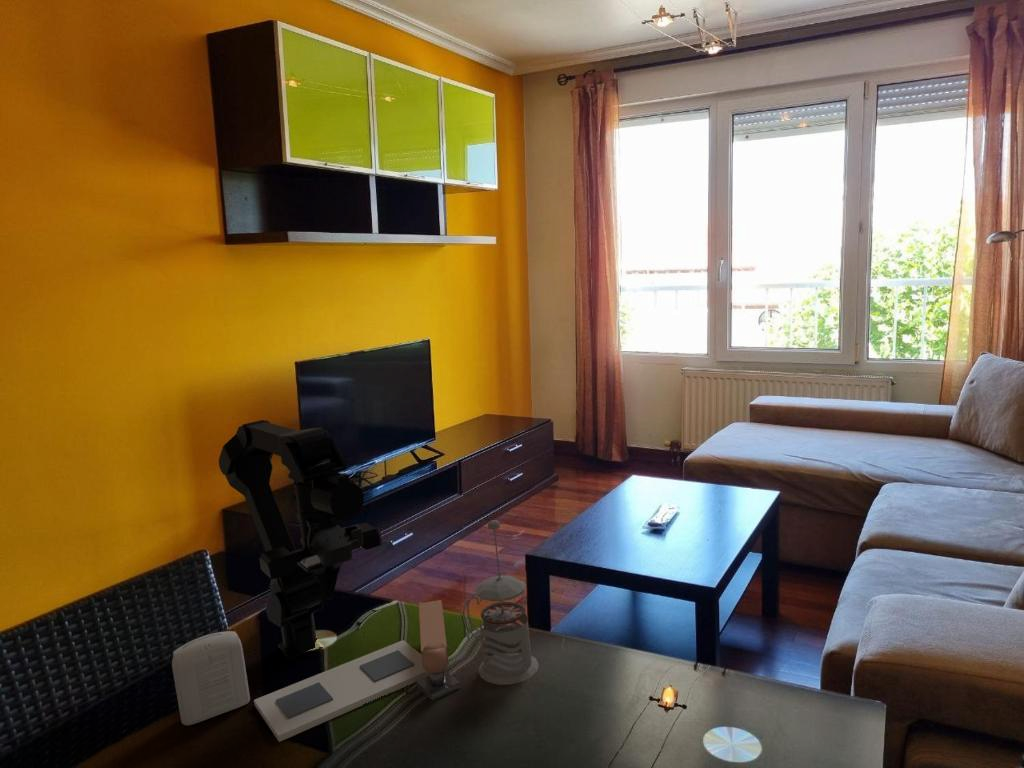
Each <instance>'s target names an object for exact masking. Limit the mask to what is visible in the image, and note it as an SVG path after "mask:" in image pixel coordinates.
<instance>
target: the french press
mask: <svg viewBox="0 0 1024 768" xmlns="http://www.w3.org/2000/svg"><path fill="white" fill-rule="evenodd" d="M500 524H501V523H500V521H498V520H497V519H492V520H489V522H488V523H487V529H488V530H493V535H494V544H495V545H494V546H495V554H496V555H495V556H496V563H497V571H498V572H497V573H498V575H496V576H492V577H488V578H486V579H485V580H483V581H482V582H481V583H479V584H477V586H476V588H475V590H474V591H475V593H474V594H472V595H471V596H470V597H469V598H468V600H467V601H466V602H465V603H464V606H463V608H462V617H463V618H462V619H463V623H464V626H465V628H466V630H467V631H468V632H469V634H470V635H472V636H473V637H475V638H476V639H478V640H479V641H480V644H481V652H482V658H483V661H482V662H481V664H480V666H479V668H478V674H479V676H480V678H481V679H483V680H484V681H485V682H487V683H491V684H494V685H500V686H501V685H513V684H517V683H522V682H524V681H526V680H529V679H530V678H532V677H533V676H534V675H535V674H536V673H537V672H538V670H539V665H540V664H539V661H538V660H537V658H536V657H535V656H533V655H532V651H531V650H532V649H531V639H530V628H529V621H528V619H529V618H528V616H527V614H526V613H525V612H526V609H525V606H523V604H520V603H519V602H515V601H513V602H512V601H510V600H514V599H515V598H518V597H520V596H521V595H523V594H524V592H525V590H526V587H527V584H526V583H525V582H524V581H523V580H522V579H519V578H516V577H514V576H512V575H505V574H504V575H500V574H501V573H500V564H499V554H498V545H497V535H496V530H498V529H500V528H501V525H500ZM479 598H480V600H479ZM473 599H475V600H476V603H477V605H480V604H481V603H482V601H483V600H484V601H490V602H495V603H492V604H489V605H487V606H486V607H484V608H483V609H482V610H481V612H480V617H481V620H480V621H479V629H478V628H477V627H476V626H475V625H474V623H473V622H472V620H471V619H472V618H471V617H470V611H469V607H470V602H471V601H472V600H473ZM465 610H466V611H467V612H466V613H467V618H468V620H469V623H470V624H471V627H472V628H474V630H476V631H477V632H479V634H480V637H479V636H477V635H475V634H474V633H473V632H472V631H471V630H470V628H469V627H468V625H467V621H466V618H465V617H466V616H465ZM517 621H519V622H521V623H522V624H523V625H522V624H520V623H519V622H517ZM482 622H483V625H482ZM507 624H512V625H513V624H514V625H515V626H510V625H507ZM500 625H505V626H503V627H500V628H499V629H496V628H498V627H499V626H500ZM482 626H483V627H482ZM517 627H518V628H517ZM505 631H506V632H505ZM498 642H500V643H498ZM519 642H520V643H519Z"/></svg>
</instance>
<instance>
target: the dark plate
mask: <svg viewBox="0 0 1024 768" xmlns="http://www.w3.org/2000/svg"><path fill="white" fill-rule="evenodd" d="M415 683H416V688H417V689H419V691H421V693H423V694H424V695H425V696H427V698H429V700H431V701H432V702H433V701H435V700H437V699H439V698H441V697H443V696H446V695H448V694H450V693H452V692H455V691H457V690H459V689H460V688H461V682H460V681H459V679H457V678H456V677H454V676H453V675H451V674H450V673H449V672H448V671H447V670H446V669H445V670H444V671H442V672H439V673H429V676H427V677H425V678H423V679H421V680H418V681H416V682H415Z"/></svg>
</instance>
